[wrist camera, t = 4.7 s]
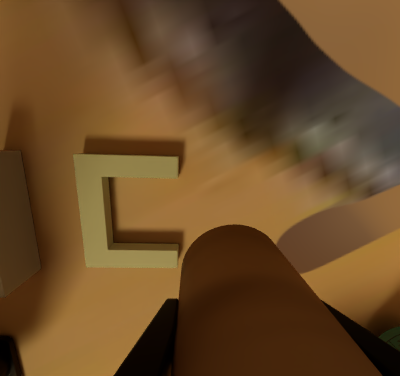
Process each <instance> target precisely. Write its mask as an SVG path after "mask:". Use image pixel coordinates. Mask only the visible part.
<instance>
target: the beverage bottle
mask: <svg viewBox="0 0 400 376" xmlns="http://www.w3.org/2000/svg"><path fill="white" fill-rule="evenodd" d="M379 338H380V339H382V340H383V341H385V342H386V343H388V344H389V345H391V346H392V347H394V348H395V349H397V350H399V351H400V326H399V327H395V328H392V329H390V330H388V331H386V332H384V333H383V334H381V335H380V336H379Z"/></svg>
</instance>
